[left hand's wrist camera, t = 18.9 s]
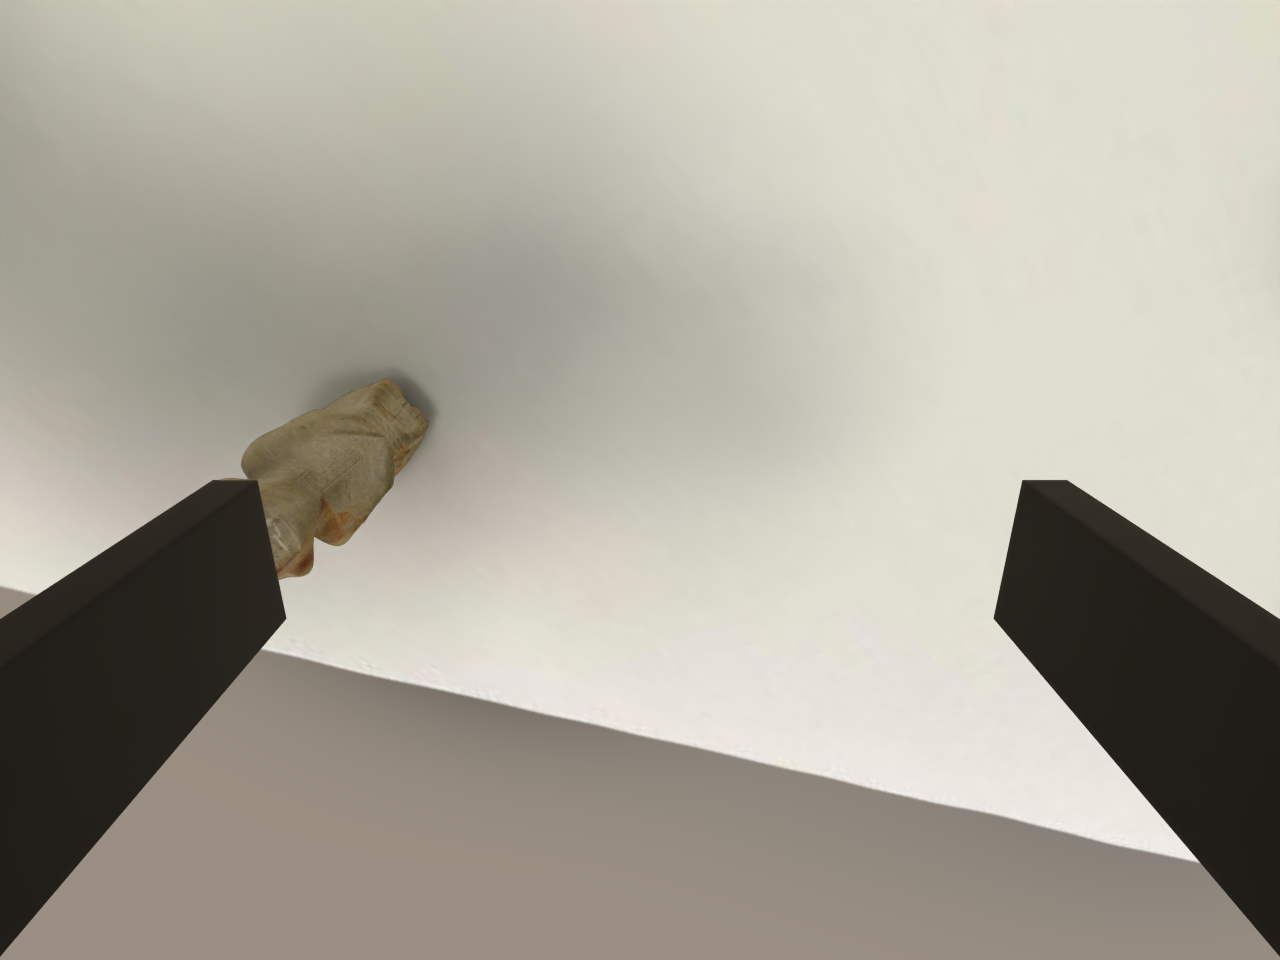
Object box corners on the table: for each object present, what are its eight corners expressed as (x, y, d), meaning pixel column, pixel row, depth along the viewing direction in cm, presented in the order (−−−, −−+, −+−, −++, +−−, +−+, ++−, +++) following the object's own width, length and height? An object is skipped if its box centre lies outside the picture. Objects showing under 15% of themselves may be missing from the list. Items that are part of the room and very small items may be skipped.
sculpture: (293, 422, 40) (107, 541, 26) (390, 348, 39) (248, 433, 25) (365, 501, 42) (226, 652, 28) (459, 434, 40) (364, 557, 26)
